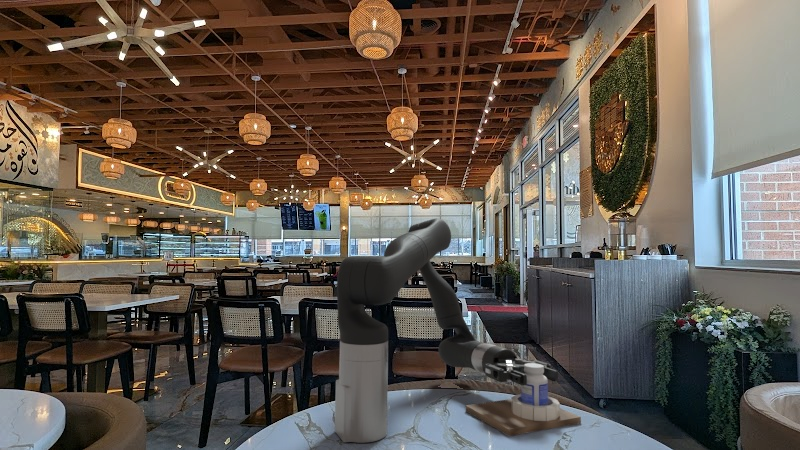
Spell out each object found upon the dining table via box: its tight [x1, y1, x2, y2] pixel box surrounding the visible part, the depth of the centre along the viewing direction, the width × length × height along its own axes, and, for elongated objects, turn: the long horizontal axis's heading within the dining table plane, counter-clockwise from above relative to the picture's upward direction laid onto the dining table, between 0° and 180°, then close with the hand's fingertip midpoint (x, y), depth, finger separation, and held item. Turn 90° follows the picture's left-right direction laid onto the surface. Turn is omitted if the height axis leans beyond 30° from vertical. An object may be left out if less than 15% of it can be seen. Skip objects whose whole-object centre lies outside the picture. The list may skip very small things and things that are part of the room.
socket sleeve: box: [510, 393, 561, 421], centre depth 93 cm, size 9×9×2 cm
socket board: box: [465, 398, 582, 437], centre depth 94 cm, size 18×15×1 cm
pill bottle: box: [520, 363, 549, 406], centre depth 94 cm, size 5×5×10 cm
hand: (541, 378), depth 92 cm, fingers open, 8 cm apart
